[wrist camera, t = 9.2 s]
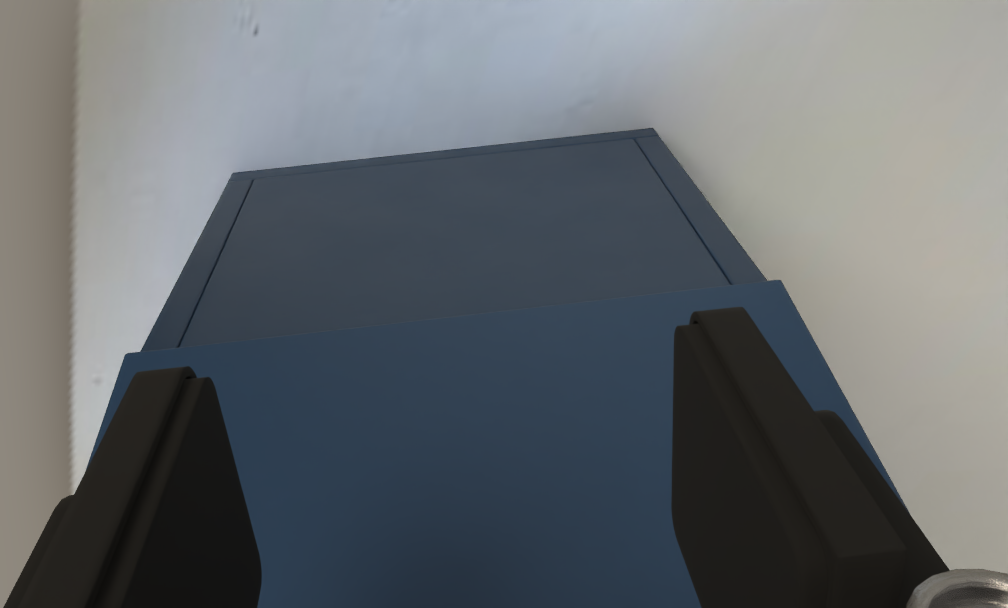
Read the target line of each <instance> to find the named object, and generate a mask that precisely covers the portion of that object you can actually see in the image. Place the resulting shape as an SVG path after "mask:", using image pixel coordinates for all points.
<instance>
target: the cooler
mask: <svg viewBox="0 0 1008 608" xmlns="http://www.w3.org/2000/svg"><path fill="white" fill-rule="evenodd" d="M763 281H767V280H766V278H765V277H764V276H763V274H762V273H761V272H760V270H759V269H758V268H757V266H756V265H755V264H754V262H753V261H752V260H751V258H750V257H749V256H748V254H747V253H746V252H745V250H744V249H743V248H742V246H741V245H740V244H739V242H738V241H737V240H736V238H735V237H734V236H733V234H732V233H731V232H730V230H729V229H728V228H727V226H726V225H725V224H724V222H723V221H722V220H721V218H720V217H719V216H718V214H717V213H716V212H715V210H714V209H713V208H712V206H711V205H710V204H709V202H708V201H707V200H706V198H705V197H704V196H703V194H702V193H701V192H700V190H699V189H698V188H697V186H696V185H695V184H694V182H693V181H692V180H691V178H690V177H689V176H688V174H687V173H686V172H685V170H684V169H683V168H682V166H681V165H680V164H679V162H678V161H677V160H676V158H675V157H674V156H673V155H672V153H671V152H670V151H669V149H668V148H667V147H666V145H665V144H664V143H663V141H662V140H661V139H660V137H659V136H658V134H657V133H656V131H655V130H654V129H653V128H649V129H640V130H630V131H621V132H612V133H602V134H593V135H584V136H574V137H565V138H556V139H546V140H537V141H527V142H518V143H509V144H499V145H490V146H481V147H471V148H462V149H453V150H443V151H434V152H425V153H415V154H406V155H397V156H387V157H378V158H369V159H359V160H350V161H341V162H331V163H322V164H313V165H303V166H294V167H285V168H275V169H266V170H257V171H247V172H238V173H233V174H232V175H231V177H230V179H229V181H228V183H227V185H226V187H225V189H224V191H223V193H222V195H221V197H220V199H219V201H218V203H217V205H216V207H215V209H214V211H213V212H212V214H211V216H210V218H209V220H208V222H207V224H206V226H205V228H204V230H203V232H202V234H201V236H200V238H199V240H198V241H197V243H196V245H195V247H194V249H193V251H192V253H191V255H190V257H189V259H188V261H187V263H186V265H185V267H184V269H183V270H182V272H181V274H180V276H179V278H178V280H177V282H176V284H175V286H174V288H173V290H172V292H171V294H170V296H169V298H168V299H167V301H166V303H165V305H164V307H163V309H162V311H161V313H160V315H159V317H158V319H157V321H156V323H155V325H154V326H153V328H152V330H151V332H150V334H149V336H148V338H147V340H146V342H145V344H144V346H143V348H142V350H141V352H144V351H153V350H162V349H171V348H180V347H189V346H197V345H206V344H215V343H224V342H233V341H242V340H250V339H259V338H268V337H277V336H286V335H295V334H303V333H312V332H321V331H330V330H339V329H348V328H356V327H365V326H374V325H383V324H392V323H401V322H410V321H418V320H427V319H436V318H445V317H454V316H463V315H471V314H480V313H489V312H498V311H507V310H516V309H524V308H533V307H542V306H551V305H560V304H569V303H577V302H586V301H595V300H604V299H613V298H622V297H630V296H639V295H648V294H657V293H666V292H675V291H684V290H692V289H701V288H710V287H719V286H728V285H737V284H745V283H754V282H763Z"/></svg>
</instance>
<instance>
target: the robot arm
mask: <svg viewBox="0 0 1008 608" xmlns="http://www.w3.org/2000/svg"><path fill="white" fill-rule="evenodd" d="M671 509H672V520H673V527H674V531H675V535H676V539H677V542H678V544H679V547H680V550H681V553H682V555H683V558H684V561H685V564H686V566H687V569H688V572H689V575H690V577H691V580H692V583H693V586H694V588H695V591H696V594H697V597H698V599H699V602H700V605H701V608H1008V574H1006V573H1000V572H995V571H990V570H984V569H954V570H951V571H950V570H949V569H948V567H947V566H946V565H945V563H944V562H943V560H942V559H941V558H940V556H939V555H938V553H937V552H936V551H935V549H934V548H933V546H932V545H931V544H930V542H929V541H928V539H927V538H926V537H925V535H924V534H923V532H922V531H921V530H920V528H919V527H918V525H917V524H916V523H915V521H914V520H913V518H912V517H911V516H910V514H909V513H908V511H907V510H906V508H905V507H904V506H903V504H902V503H901V501H900V500H899V499H898V497H897V496H896V494H895V493H894V492H893V490H892V489H891V487H890V486H889V485H888V483H887V482H886V480H885V479H884V478H883V476H882V475H881V473H880V472H879V471H878V469H877V468H876V466H875V465H874V464H873V462H872V461H871V459H870V458H869V457H868V455H867V454H866V452H865V451H864V450H863V448H862V447H861V445H860V444H859V442H858V441H857V440H856V438H855V437H854V435H853V434H852V433H851V431H850V430H849V428H848V427H847V426H846V424H845V423H844V421H843V420H842V419H841V418H840V417H839V416H838V415H837V414H836V413H835V412H833V411H830V410H820V411H814V410H813V409H812V407H811V406H810V404H809V403H808V401H807V400H806V398H805V397H804V395H803V394H802V392H801V391H800V389H799V388H798V387H797V385H796V384H795V382H794V381H793V379H792V378H791V376H790V375H789V373H788V372H787V370H786V369H785V367H784V366H783V364H782V363H781V361H780V360H779V358H778V357H777V355H776V354H775V352H774V351H773V349H772V348H771V347H770V345H769V344H768V342H767V341H766V339H765V338H764V336H763V335H762V333H761V332H760V330H759V329H758V327H757V326H756V324H755V323H754V321H753V320H752V318H751V317H750V315H749V314H748V312H747V311H746V310H745V309H744V308H743V307H731V308H722V309H713V310H703V311H694V312H693V313H692V314H691V318H690V322H689V325H680V326H677V327H676V328H675V332H674V368H673V432H672V497H671ZM261 583H262V568H261V560H260V555H259V551H258V547H257V543H256V539H255V536H254V532H253V528H252V524H251V520H250V517H249V513H248V509H247V505H246V502H245V498H244V494H243V490H242V486H241V483H240V479H239V475H238V471H237V468H236V464H235V460H234V456H233V452H232V449H231V445H230V441H229V437H228V434H227V430H226V426H225V422H224V418H223V415H222V411H221V407H220V403H219V400H218V396H217V392H216V388H215V386H214V383H213V381H212V379H211V378H210V377H202V378H197V376H196V374H195V372H194V371H193V369H192V368H191V367H189V366H185V367H176V368H167V369H157V370H148V371H140V372H137V373H136V374H135V375H134V376H133V378H132V380H131V382H130V384H129V386H128V388H127V390H126V392H125V394H124V396H123V398H122V400H121V402H120V404H119V406H118V408H117V410H116V412H115V414H114V416H113V418H112V420H111V422H110V424H109V426H108V428H107V430H106V432H105V434H104V436H103V438H102V440H101V442H100V444H99V446H98V448H97V450H96V452H95V454H94V456H93V458H92V460H91V462H90V464H89V466H88V468H87V470H86V472H85V474H84V476H83V478H82V480H81V482H80V484H79V486H78V488H77V490H76V492H75V494H74V495H70V496H68V497H66V498H64V499H62V500H61V501H60V502H59V504H58V505H57V506H56V508H55V509H54V511H53V513H52V515H51V517H50V519H49V521H48V522H47V524H46V526H45V528H44V530H43V532H42V534H41V536H40V538H39V540H38V542H37V544H36V546H35V548H34V550H33V551H32V554H31V556H30V558H29V559H28V561H27V563H26V565H25V567H24V569H23V571H22V573H21V575H20V577H19V579H18V581H17V582H16V584H15V586H14V588H13V590H12V592H11V594H10V596H9V598H8V600H7V602H6V604H5V606H4V608H257V606H258V601H259V596H260V591H261Z"/></svg>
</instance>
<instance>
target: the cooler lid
mask: <svg viewBox="0 0 1008 608" xmlns="http://www.w3.org/2000/svg"><path fill="white" fill-rule="evenodd" d="M731 307H743V308H744V309H745V310H746V311H747V312H748V314H749V315H750V317H751V318H752V320H753V321H754V323H755V324H756V326H757V327H758V329H759V330H760V332H761V333H762V335H763V336H764V338H765V339H766V341H767V342H768V344H769V345H770V347H771V348H772V349H773V351H774V352H775V354H776V355H777V357H778V358H779V360H780V361H781V363H782V364H783V366H784V367H785V369H786V370H787V372H788V373H789V375H790V376H791V378H792V379H793V381H794V382H795V384H796V385H797V387H798V388H799V389H800V391H801V392H802V394H803V395H804V397H805V398H806V400H807V401H808V403H809V404H810V406H811V407H812V409H813V410H814V411H820V410H830V411H833V412H835V413H836V414H837V415H838V416H839V417H840V418H841V419H842V420H843V421H844V423H845V424H846V426H847V427H848V428H849V430H850V431H851V433H852V434H853V435H854V437H855V438H856V440H857V441H858V442H859V444H860V445H861V447H862V448H863V450H864V451H865V452H866V454H867V455H868V457H869V458H870V459H871V461H872V462H873V464H874V465H875V466H876V468H877V469H878V471H879V472H880V473H881V475H882V476H883V478H884V479H885V480H886V482H887V483H888V485H889V486H890V487H891V489H892V490H893V492H894V493H895V494H896V496H897V497H898V499H899V500H900V501H901V503H902V504H903V506H904V507H905V508H906V506H905V504H904V502H903V501H902V499H901V497H900V495H899V493H898V492H897V490H896V488H895V486H894V484H893V483H892V481H891V479H890V477H889V475H888V473H887V472H886V470H885V468H884V466H883V464H882V463H881V461H880V459H879V457H878V455H877V454H876V452H875V450H874V448H873V446H872V445H871V443H870V441H869V439H868V437H867V435H866V434H865V432H864V430H863V428H862V426H861V425H860V423H859V421H858V419H857V417H856V416H855V414H854V412H853V410H852V408H851V406H850V405H849V403H848V401H847V399H846V397H845V396H844V394H843V392H842V390H841V388H840V387H839V385H838V383H837V381H836V379H835V378H834V376H833V374H832V372H831V370H830V368H829V367H828V365H827V363H826V361H825V359H824V358H823V356H822V354H821V352H820V350H819V349H818V347H817V345H816V343H815V341H814V339H813V338H812V336H811V334H810V332H809V330H808V329H807V327H806V325H805V323H804V321H803V320H802V318H801V316H800V314H799V312H798V311H797V309H796V307H795V305H794V303H793V301H792V300H791V298H790V296H789V294H788V292H787V291H786V289H785V287H784V285H783V283H782V282H781V280H772V281H763V282H754V283H745V284H737V285H728V286H719V287H710V288H701V289H692V290H684V291H675V292H666V293H657V294H648V295H639V296H630V297H622V298H613V299H604V300H595V301H586V302H577V303H569V304H560V305H551V306H542V307H533V308H524V309H516V310H507V311H498V312H489V313H480V314H471V315H463V316H454V317H445V318H436V319H427V320H418V321H410V322H401V323H392V324H383V325H374V326H365V327H356V328H348V329H339V330H330V331H321V332H312V333H303V334H295V335H286V336H277V337H268V338H259V339H250V340H242V341H233V342H224V343H215V344H206V345H197V346H189V347H180V348H171V349H162V350H153V351H144V352H136V353H128V354H126V355H125V357H124V360H123V363H122V366H121V369H120V372H119V374H118V377H117V380H116V383H115V386H114V389H113V392H112V395H111V398H110V401H109V404H108V407H107V410H106V413H105V416H104V419H103V422H102V425H101V427H100V430H99V433H98V436H97V439H96V442H95V445H94V448H93V451H92V454H91V457H90V460H89V463H88V466H89V464H90V462H91V460H92V458H93V456H94V454H95V452H96V450H97V448H98V446H99V444H100V442H101V440H102V438H103V436H104V434H105V432H106V430H107V428H108V426H109V424H110V422H111V420H112V418H113V416H114V414H115V412H116V410H117V408H118V406H119V404H120V402H121V400H122V398H123V396H124V394H125V392H126V390H127V388H128V386H129V384H130V382H131V380H132V378H133V376H134V375H135V374H136V373H137V372H140V371H148V370H157V369H167V368H176V367H185V366H189V367H191V368H192V369H193V371H194V372H195V374H196V376H197V378H202V377H210V378H211V379H212V381H213V383H214V386H215V388H216V392H217V396H218V400H219V403H220V407H221V411H222V415H223V418H224V422H225V426H226V430H227V434H228V437H229V441H230V445H231V449H232V452H233V456H234V460H235V464H236V468H237V471H238V475H239V479H240V483H241V486H242V490H243V494H244V498H245V502H246V505H247V509H248V513H249V517H250V520H251V524H252V528H253V532H254V536H255V539H256V543H257V547H258V551H259V555H260V560H261V568H262V583H261V591H260V596H259V601H258V606H257V608H701V605H700V602H699V599H698V597H697V594H696V591H695V588H694V586H693V583H692V580H691V577H690V575H689V572H688V569H687V566H686V564H685V561H684V558H683V555H682V553H681V550H680V547H679V544H678V542H677V539H676V535H675V531H674V527H673V520H672V509H671V497H672V432H673V368H674V332H675V328H676V327H677V326H680V325H689V322H690V318H691V314H692V313H693V312H694V311H703V310H713V309H722V308H731ZM88 466H87V468H88ZM86 470H87V469H86ZM906 510H907V508H906ZM907 511H908V510H907ZM908 513H909V512H908ZM909 514H910V513H909ZM910 516H911V515H910Z"/></svg>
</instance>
